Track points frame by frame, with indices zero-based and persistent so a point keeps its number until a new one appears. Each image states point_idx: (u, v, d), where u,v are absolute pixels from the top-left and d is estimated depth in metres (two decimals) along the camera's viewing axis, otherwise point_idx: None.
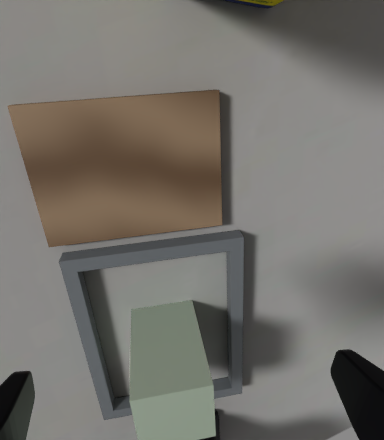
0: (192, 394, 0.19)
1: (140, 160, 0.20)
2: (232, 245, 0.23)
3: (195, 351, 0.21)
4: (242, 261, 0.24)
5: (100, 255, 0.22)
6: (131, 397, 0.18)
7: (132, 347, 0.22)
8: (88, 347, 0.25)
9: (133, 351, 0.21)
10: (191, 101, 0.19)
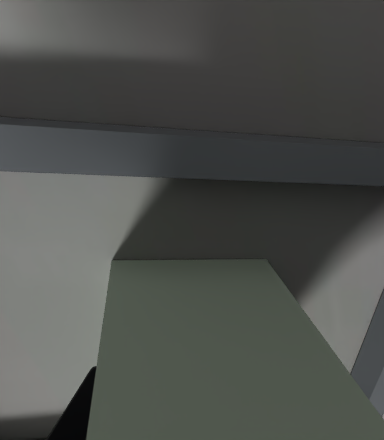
0: None
1: None
2: None
3: None
4: None
5: None
6: None
7: None
8: None
9: None
10: None
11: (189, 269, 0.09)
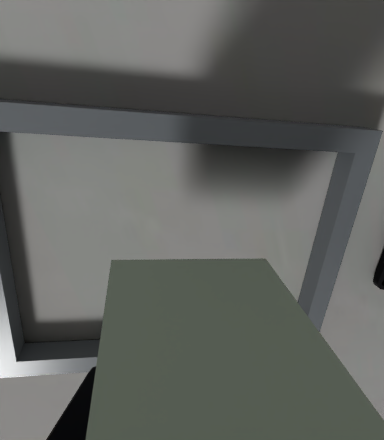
0: None
1: None
2: None
3: None
4: (3, 104, 0.11)
5: None
6: None
7: None
8: None
9: None
10: None
11: (188, 269, 0.09)
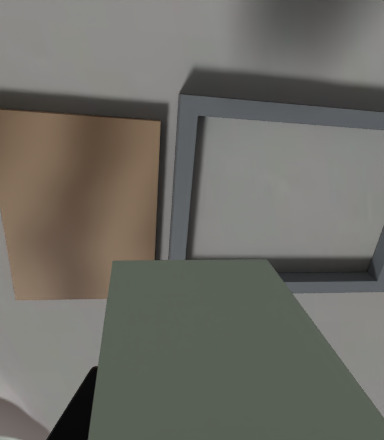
0: None
1: (67, 205, 0.19)
2: (190, 112, 0.17)
3: None
4: (218, 99, 0.17)
5: None
6: None
7: None
8: None
9: None
10: (0, 143, 0.17)
11: (190, 269, 0.09)
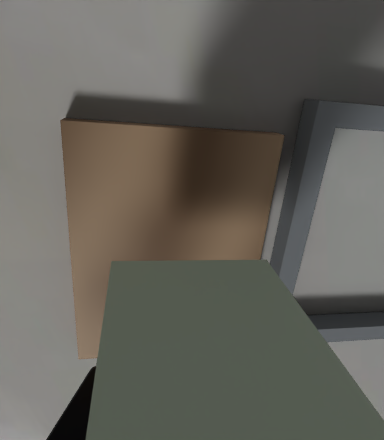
0: None
1: (155, 243, 0.14)
2: (326, 123, 0.13)
3: None
4: (364, 106, 0.13)
5: None
6: None
7: None
8: None
9: None
10: (78, 166, 0.12)
11: (189, 270, 0.09)
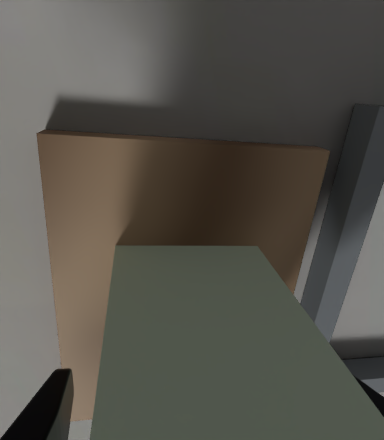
0: None
1: None
2: None
3: None
4: None
5: None
6: None
7: None
8: None
9: None
10: (62, 193, 0.09)
11: (186, 253, 0.10)
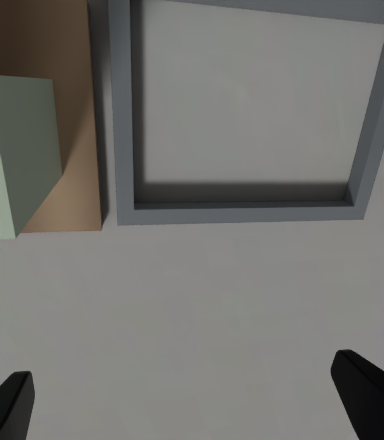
0: None
1: None
2: None
3: None
4: None
5: None
6: None
7: None
8: (244, 217, 0.20)
9: None
10: None
11: None
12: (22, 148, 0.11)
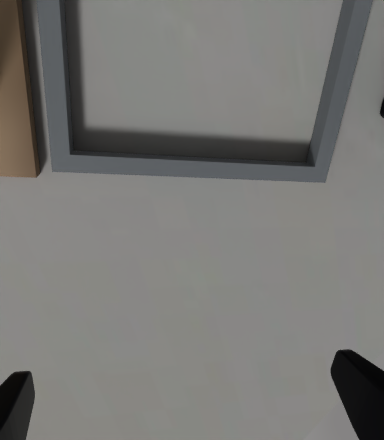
0: None
1: None
2: None
3: None
4: None
5: (48, 120, 0.17)
6: None
7: None
8: (193, 171, 0.19)
9: None
10: None
11: None
12: None
